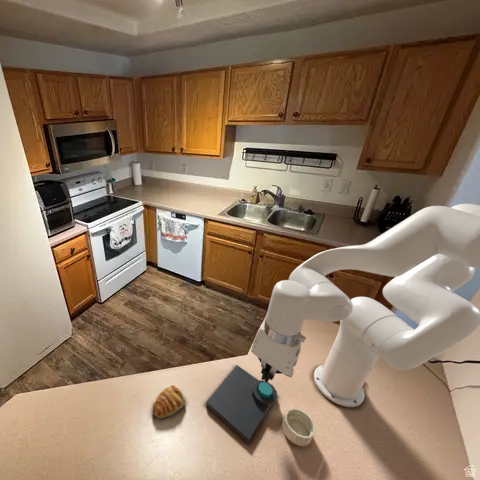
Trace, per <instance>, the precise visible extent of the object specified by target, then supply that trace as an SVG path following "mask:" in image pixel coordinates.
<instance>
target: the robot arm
mask: <svg viewBox="0 0 480 480" xmlns="http://www.w3.org/2000/svg"><path fill="white" fill-rule="evenodd" d="M476 269H477V270H480V204H474V203H459V204H455V205H453V206H451V207H450V206H445V205H430V206H426V207H424V208H421V209H420V210H418V211H416V212H415V213H413V214H411V215H409V216H408V217H406V218H405V219H403V220H402V221H400V222H399V223H397V224H395V225H394V226H392V227H391V228H389V229H387V230H386V231H384V232H383V233H381V234H380V235H378V236H376V237H375V238H374V239H372V240H370V241H368V242H367V243H364V244H359V245H358V244H356V245H347V246H342V247H335V248H330V249H327V250H323V251H321V252H318V253H317V254H315V255H312V256H311V257H310V258H308V259H307V260H305V261H303V262H302V263H301V264H299V265H298V266H297V267H296V268H294V270H292V272H291V273H290V275H289V277H288V279H284V280H283V279H282V280H280V281H278V282H276V284H275V285H274V287H273V289H272V292H271V296H270V300H269V304H268V308H267V312H266V317H265V320H264V321H263V322H262V323H261V324H260V326H259V328H258V330H257V332H256V334H255V337H254V339H253V342H252V346H251V349H250V352H251V353H252V354H253V355H254V356H256V358H257V359H258V361H259V362H260V367H261V371H260V374H262V375H261V377H260V378H261V379H260V380H263V381H265V382H269V380H270V381H273V380H274V378H275V375H276V374H280V375H281V374H283V375H284V376H286V377H288V378H292V377H293V375H294V373H295V371H294V370H295V369H294V368H295V367H296V366H297V364H298V361H299V358H300V354H301V350H302V343H305V341H306V339H307V337H306V336H304V335H303V334H302V327H303V325H304V321H305V320H307V321H308V320H309V321H317V322H324V323H325V322H326V323H335V322H339V328H338V331H337V334H336V337H335V339H334V341H333V343H332V346H331V348H330V351H329V353H328V355H327V358H326V360H325V362H324V364H321V365H319V366H317V367H316V369H315V370H314V372H313V380H314V384H315V386H316V387H317V389H318V390H319V392H321V394H322V395H323V396H324V397H325V398H327V399H328V400H330V401H331V402H333V403H335V404H336V405H338V406H341V407H346V408H355V407H359V406H360V405H361V404H362V403H363V402H364V399H365V391H364V390H365V389H364V387H363V386H364V384H365V383H366V380H367V379H368V377H369V376H370V374H371V372H372V370H373V368H374V366H375V364H377V362H378V360H379V359H380V360H381V361H382V362H384V364H386V365H387V366H388V367H390V368H392V369H393V370H395V371H399V372H405V371H410V370H413V369H415V368H417V367H420V366H421V365H423V364H425V363H426V362H428V361H431V359H433V358H435V357H436V356H438V355H440V354H441V353H443V352H445V351H446V350H448V349H450V348H451V347H453V346H455V345H456V344H458V343H460V342H461V341H463V340H465V339H466V338H467V337H469V336H470V335H472V334H473V333H474V332H475V331H476V330H477V329H478V327H479V326H480V309H479V308H478V307H477V306H476V305H475V304H473V303H472V302H471V301H469V300H468V299H466V298H464V297H462V296H460V295H459V294H457V293H455V291H456V290H458V289H459V288H460V287H462V286H463V285H465V284H467V283H468V282H470V280H472V278H473V277H474V275H475V271H476ZM342 270H354V271H355V270H356V271H361V272H365V273H371V274H376V275H380V276H385V277H386V276H387V277H394V278H392V279H391V280H390V281H388V282H387V283H386V284H385V285H384V286H383V288H382V296H383V297H384V299H385V300H386V301H387V303H389V304H390V305H392V306H393V307H394V308H395V309H397V310H398V311H399V312H401V313H402V314H403V315H405V316H406V317H407V318H408V319H410V320H411V321H412V322H414V323H415V324H417V327H416V328H413V327H412V326H411V325H409V324H408V323H406V321H405V320H403V319H402V318H400V317H399V316H398V315H397V314H396V313H394V312H393V311H392V310H390V309H389V308H388V307H387V306H385V305H384V304H382V303H381V302H379V301H377V300H376V299H374V298H372V297H368V296H356V297H353V298H350V297H349V296H348V295H347V294H346V293H345V292H343V291H342V290H341V289H340V288H339V287H338V286H337V285H335V284H334V283H333V282H332V281H331V280H330V279H329V278H327V277H326V276H327V275H329V274H331V273H333V272H338V271H342Z"/></svg>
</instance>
